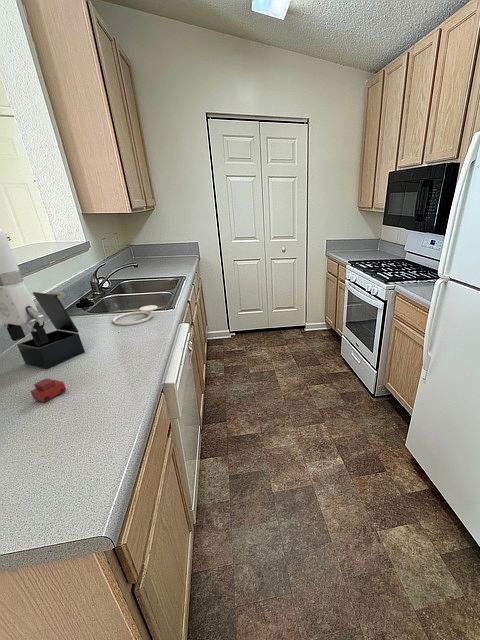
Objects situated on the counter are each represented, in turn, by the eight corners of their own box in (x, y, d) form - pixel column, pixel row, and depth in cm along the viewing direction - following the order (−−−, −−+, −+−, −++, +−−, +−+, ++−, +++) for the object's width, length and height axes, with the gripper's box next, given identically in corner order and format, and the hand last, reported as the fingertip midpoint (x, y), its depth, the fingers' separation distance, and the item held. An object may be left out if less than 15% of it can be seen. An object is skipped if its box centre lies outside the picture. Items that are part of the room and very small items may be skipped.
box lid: (54, 295, 112) (67, 288, 116) (32, 292, 116) (45, 286, 119) (77, 332, 121) (88, 325, 125) (56, 329, 125) (67, 322, 129)
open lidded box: (47, 369, 113) (38, 348, 110) (25, 364, 117) (16, 344, 114) (85, 352, 125) (78, 333, 122) (64, 348, 129) (57, 329, 126)
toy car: (43, 403, 94) (37, 388, 92) (34, 401, 96) (27, 386, 94) (67, 391, 100) (61, 377, 98) (58, 389, 102) (52, 374, 99)
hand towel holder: (111, 308, 160) (156, 302, 167) (113, 317, 162) (158, 310, 169) (109, 318, 146) (159, 311, 154) (112, 327, 148) (161, 320, 156)
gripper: (-35, 280, 83) (-5, 342, 91) (10, 285, 77) (38, 351, 85) (-2, 274, 89) (24, 332, 97) (42, 277, 84) (65, 340, 91)
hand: (30, 341), depth 91 cm, fingers open, 9 cm apart
